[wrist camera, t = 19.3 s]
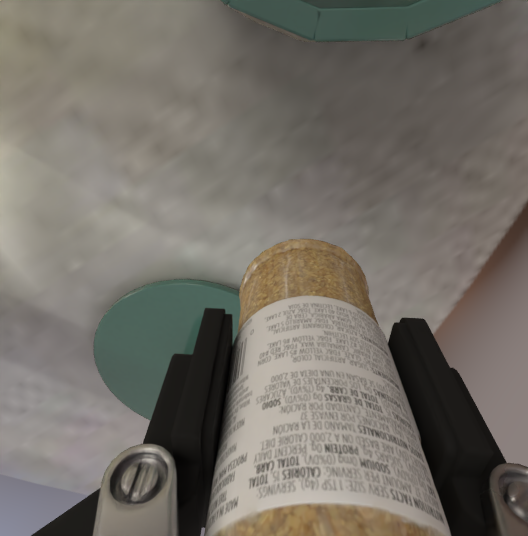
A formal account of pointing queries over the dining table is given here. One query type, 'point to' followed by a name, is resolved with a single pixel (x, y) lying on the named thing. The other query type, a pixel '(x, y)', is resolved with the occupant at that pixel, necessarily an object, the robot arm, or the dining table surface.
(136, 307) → the lid
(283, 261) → the sprinkles bottle
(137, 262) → the dining table surface
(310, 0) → the canister
